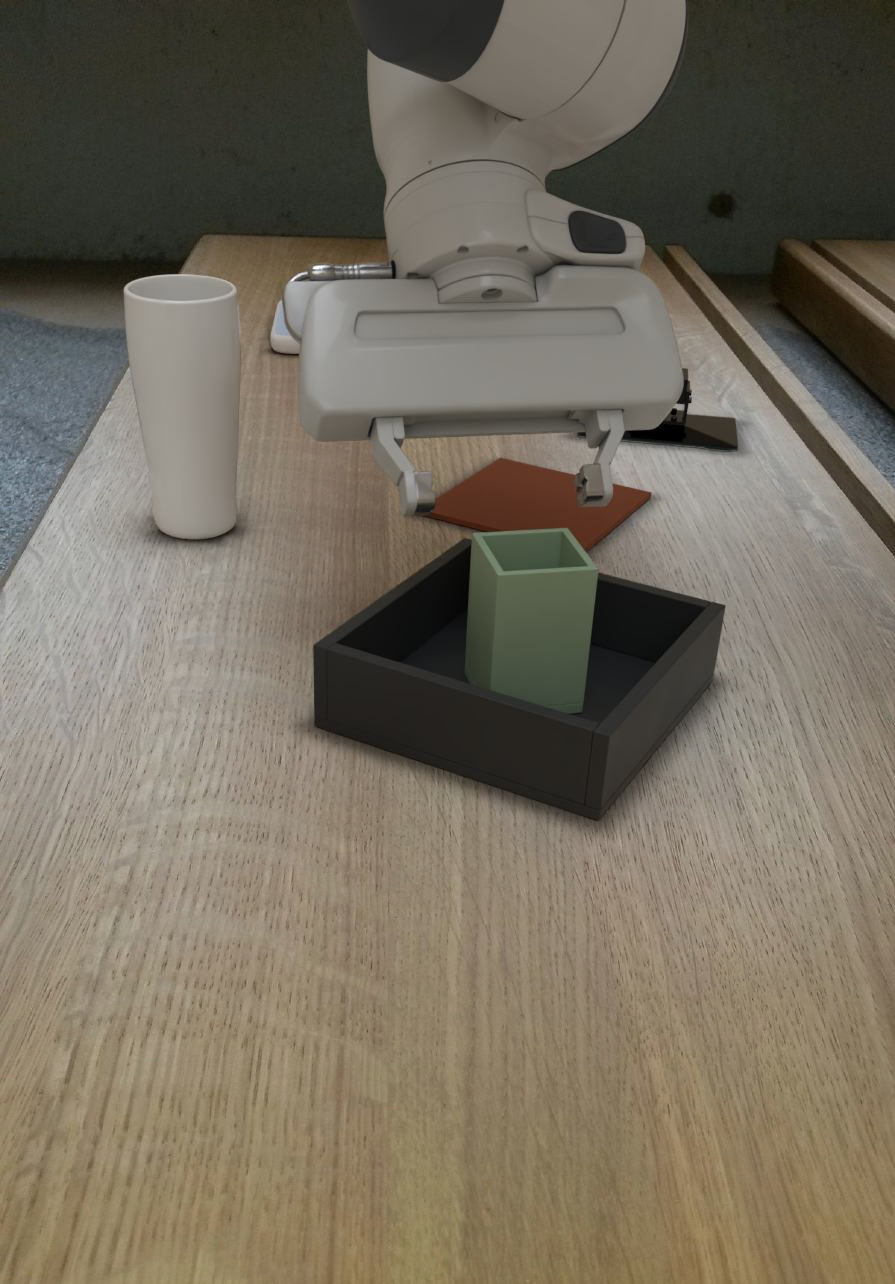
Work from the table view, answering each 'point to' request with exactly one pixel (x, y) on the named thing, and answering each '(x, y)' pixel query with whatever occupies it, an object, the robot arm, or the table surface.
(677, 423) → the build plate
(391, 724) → the bin
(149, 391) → the drinking glass
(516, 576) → the box
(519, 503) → the mat
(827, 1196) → the table surface
